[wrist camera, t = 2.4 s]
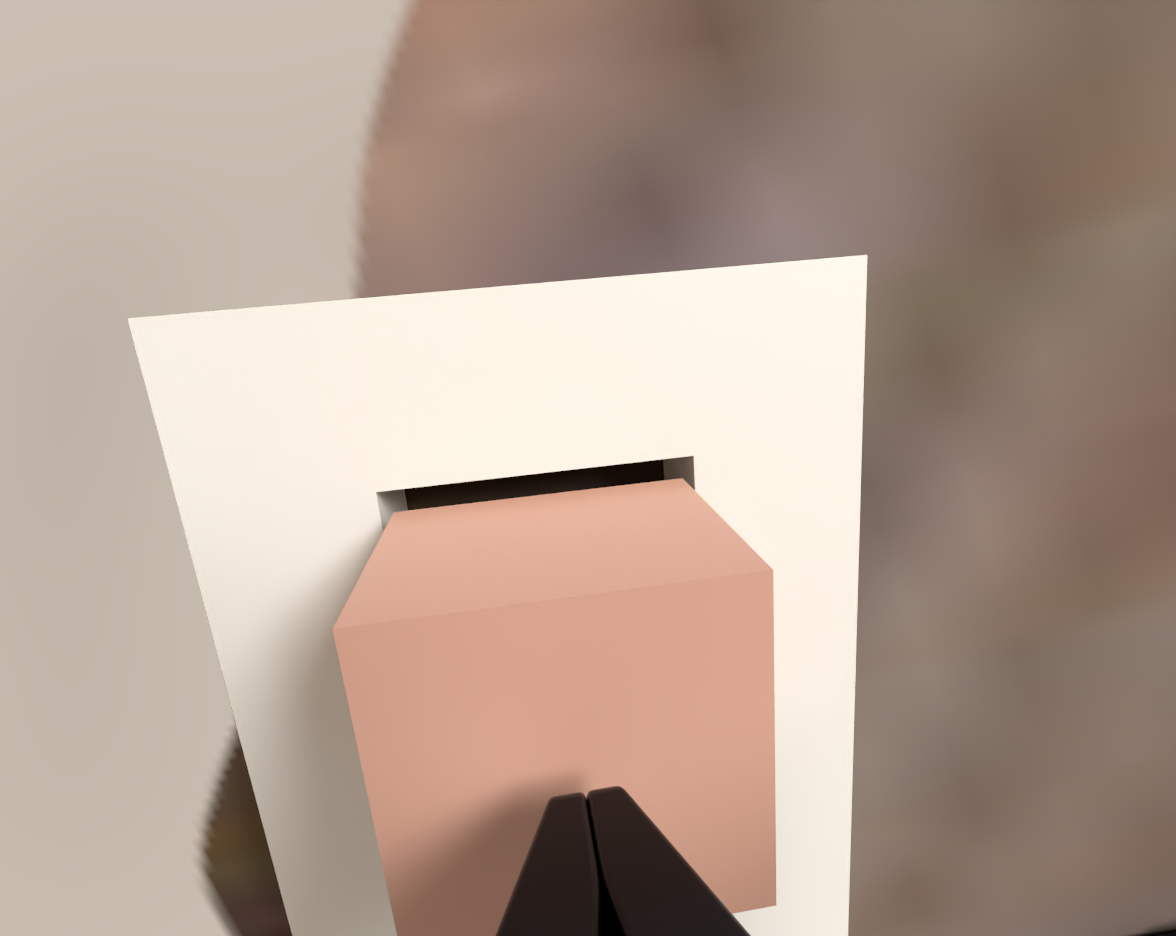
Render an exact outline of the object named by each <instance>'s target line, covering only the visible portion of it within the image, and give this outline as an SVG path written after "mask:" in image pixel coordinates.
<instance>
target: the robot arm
mask: <svg viewBox="0 0 1176 936" xmlns="http://www.w3.org/2000/svg"><path fill="white" fill-rule="evenodd" d="M495 936H751V935H750V934H749V933H748V932H747V931H746V929H745V928H744V927H743V926H742V925H741V924H740V923H739V921H738V920H737V919H736V918H735V917H734V916H733V914H732V913H731V912H730V911H729V910H728V909H727V907H726V906H725V905H724V904H723V903H722V902H721V900H720V899H719V898H718V897H717V896H716V895H715V894H714V892H713V891H712V890H711V889H710V888H709V887H708V885H707V884H706V883H705V882H704V881H703V880H702V878H701V877H700V876H699V875H698V874H697V873H696V871H695V870H694V869H693V868H692V867H691V866H690V864H689V863H688V862H687V861H686V860H685V859H684V858H683V856H682V855H681V854H680V853H679V852H678V851H677V849H676V848H675V847H674V846H673V845H672V844H671V842H670V841H669V840H668V839H667V838H666V837H665V835H664V834H663V833H662V832H661V831H660V830H659V828H658V827H657V826H656V825H655V824H654V823H653V822H652V820H651V819H650V818H649V817H648V816H647V815H646V813H645V812H644V811H643V810H642V809H641V808H640V806H639V805H638V804H637V803H636V802H635V801H634V799H633V798H632V797H631V796H630V795H629V794H628V792H627V791H626V790H625V789H624V788H622V787H620V786H613V787H607V788H600V789H594V790H591V791H589V792H588V794H587V799H586V796H585V795H584V793H582V792H576V793H570V794H564V795H558V796H553V797H551V798H550V799H549V801H548V802H547V805H546V807H545V810H544V812H543V815H542V817H541V820H540V822H539V825H538V828H537V830H536V833H535V835H534V838H533V840H532V843H531V846H530V848H529V851H528V853H527V856H526V858H525V861H524V864H523V866H522V869H521V871H520V874H519V876H518V879H517V881H516V884H515V887H514V889H513V892H512V894H511V897H510V899H509V902H508V905H507V907H506V910H505V912H504V915H503V917H502V920H501V922H500V925H499V928H498V930H497V933H496V935H495ZM1158 936H1176V932H1173V933H1168V934H1163V935H1158Z"/></svg>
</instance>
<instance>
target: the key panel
mask: <svg viewBox="0 0 1176 936" xmlns="http://www.w3.org/2000/svg"><path fill="white" fill-rule="evenodd" d="M866 282H867V255H861V256H849V257H838V258H826V259H814V260H803V261H791V262H779V263H768V264H756V265H744V266H733V267H721V268H709V269H698V270H686V271H674V272H663V273H651V274H640V275H628V276H616V277H605V278H593V279H581V280H570V281H558V282H546V283H535V284H523V285H511V286H500V287H488V288H477V289H465V290H453V291H442V292H430V293H418V294H407V295H395V296H383V297H372V298H360V299H348V300H337V301H326V302H314V303H303V304H291V305H279V306H267V307H256V308H244V309H233V310H220V311H209V312H197V313H186V314H174V315H162V316H150V317H139V318H128V322H129V326H130V330H131V333H132V337H133V341H134V344H135V348H136V352H137V356H138V359H139V363H140V367H141V371H142V374H143V378H144V382H145V386H146V389H147V393H148V397H149V401H150V404H151V408H152V412H153V416H154V419H155V423H156V427H157V430H158V434H159V438H160V442H161V445H162V449H163V453H164V457H165V461H166V464H167V468H168V472H169V476H170V479H171V483H172V487H173V491H174V494H175V498H176V502H177V506H178V509H179V513H180V517H181V521H182V524H183V528H184V532H185V536H186V539H187V543H188V547H189V551H190V554H191V558H192V562H193V566H194V569H195V573H196V577H197V581H198V584H199V588H200V591H201V595H202V599H203V603H204V607H205V610H206V614H207V618H208V622H209V626H210V629H211V633H212V637H213V641H214V644H215V648H216V652H217V655H218V659H219V663H220V667H221V670H222V674H223V678H224V682H225V685H226V689H227V693H228V697H229V700H230V704H231V708H232V712H233V715H234V719H235V723H236V727H237V730H238V734H239V738H240V742H241V745H242V749H243V753H244V757H245V760H246V764H247V768H248V772H249V775H250V779H251V783H252V787H253V790H254V794H255V798H256V802H257V805H258V809H259V813H260V817H261V820H262V824H263V828H264V832H265V835H266V839H267V843H268V847H269V850H270V854H271V858H272V862H273V865H274V869H275V873H276V877H277V880H278V884H279V888H280V892H281V895H282V899H283V903H284V907H285V910H286V914H287V918H288V922H289V925H290V929H291V933H292V936H397V933H396V928H395V923H394V918H393V914H392V909H391V904H390V899H389V895H388V890H387V885H386V881H385V876H384V871H383V866H382V862H381V857H380V852H379V847H378V843H377V838H376V833H375V828H374V824H373V819H372V814H371V809H370V805H369V800H368V795H367V791H366V786H365V781H364V776H363V772H362V767H361V762H360V757H359V753H358V748H357V743H356V738H355V734H354V729H353V724H352V720H351V715H350V710H349V705H348V701H347V696H346V691H345V686H344V682H343V677H342V672H341V667H340V663H339V658H338V653H337V648H336V644H335V639H334V634H333V630H332V629H333V627H334V625H335V623H336V621H337V619H338V617H339V615H340V613H341V612H342V610H343V608H344V606H345V604H346V602H347V600H348V598H349V596H350V594H351V593H352V591H353V589H354V587H355V585H356V583H357V581H358V579H359V577H360V575H361V573H362V572H363V570H364V568H365V566H366V564H367V562H368V560H369V558H370V556H371V554H372V553H373V551H374V549H375V547H376V545H377V543H378V541H379V539H380V537H381V535H382V534H383V532H384V530H385V528H386V526H387V524H388V522H389V520H390V518H391V516H392V515H393V513H394V512H400V511H408V508H407V502H406V496H405V490H404V489H409V488H417V487H426V486H435V485H444V484H452V483H461V482H470V481H479V480H487V479H496V478H505V477H513V476H522V475H531V474H540V473H548V472H557V471H566V470H574V469H583V468H592V467H601V466H609V465H618V464H627V463H635V462H644V461H653V460H662V459H663V468H664V480H671V479H680V478H683V479H684V480H685V481H686V482H687V483H688V484H689V485H690V486H691V487H692V488H693V489H694V490H695V491H696V492H697V493H698V494H699V495H700V496H701V497H702V498H703V499H704V500H705V501H706V502H707V503H708V504H709V505H710V506H711V507H712V508H713V509H714V510H715V511H716V512H717V513H718V514H719V515H720V516H721V517H722V518H723V520H724V521H725V522H726V523H727V524H728V525H729V526H730V527H731V528H732V529H733V530H734V531H735V532H736V533H737V534H738V535H739V536H740V537H741V538H742V539H743V540H744V541H745V542H746V543H747V544H748V545H749V546H750V547H751V548H752V549H753V550H754V551H755V552H756V553H757V554H758V555H759V556H760V557H761V558H762V559H763V560H764V561H765V562H766V563H767V564H768V565H769V566H770V567H771V568H772V569H773V592H774V698H775V804H776V906H771V907H766V908H760V909H755V910H750V911H744V912H739V913H733V916H734V917H735V918H736V919H737V920H738V921H739V923H740V924H741V925H742V926H743V927H744V928H745V929H746V931H747V932H748V933H749V934H750V935H751V936H848V916H849V881H850V845H851V810H852V775H853V740H854V705H855V669H856V634H857V599H858V564H859V529H860V493H861V458H862V423H863V388H864V352H865V317H866Z"/></svg>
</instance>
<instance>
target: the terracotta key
mask: <svg viewBox="0 0 1176 936" xmlns="http://www.w3.org/2000/svg"><path fill="white" fill-rule="evenodd" d="M332 630H333V634H334V639H335V644H336V648H337V653H338V658H339V663H340V667H341V672H342V677H343V682H344V686H345V691H346V696H347V701H348V705H349V710H350V715H351V720H352V724H353V729H354V734H355V738H356V743H357V748H358V753H359V757H360V762H361V767H362V772H363V776H364V781H365V786H366V791H367V795H368V800H369V805H370V809H371V814H372V819H373V824H374V828H375V833H376V838H377V843H378V847H379V852H380V857H381V862H382V866H383V871H384V876H385V881H386V885H387V890H388V895H389V899H390V904H391V909H392V914H393V918H394V923H395V928H396V933H397V936H495V935H496V933H497V930H498V928H499V925H500V922H501V920H502V917H503V915H504V912H505V910H506V907H507V905H508V902H509V899H510V897H511V894H512V892H513V889H514V887H515V884H516V881H517V879H518V876H519V874H520V871H521V869H522V866H523V864H524V861H525V858H526V856H527V853H528V851H529V848H530V846H531V843H532V840H533V838H534V835H535V833H536V830H537V828H538V825H539V822H540V820H541V817H542V815H543V812H544V810H545V807H546V805H547V802H548V801H549V799H550V798H551V797H553V796H558V795H564V794H570V793H576V792H582V793H584V795H585V796H586V799H587V794H588V792H589V791H591V790H594V789H600V788H607V787H613V786H620V787H622V788H624V789H625V790H626V791H627V792H628V794H629V795H630V796H631V797H632V798H633V799H634V801H635V802H636V803H637V804H638V805H639V806H640V808H641V809H642V810H643V811H644V812H645V813H646V815H647V816H648V817H649V818H650V819H651V820H652V822H653V823H654V824H655V825H656V826H657V827H658V828H659V830H660V831H661V832H662V833H663V834H664V835H665V837H666V838H667V839H668V840H669V841H670V842H671V844H672V845H673V846H674V847H675V848H676V849H677V851H678V852H679V853H680V854H681V855H682V856H683V858H684V859H685V860H686V861H687V862H688V863H689V864H690V866H691V867H692V868H693V869H694V870H695V871H696V873H697V874H698V875H699V876H700V877H701V878H702V880H703V881H704V882H705V883H706V884H707V885H708V887H709V888H710V889H711V890H712V891H713V892H714V894H715V895H716V896H717V897H718V898H719V899H720V900H721V902H722V903H723V904H724V905H725V906H726V907H727V909H728V910H729V911H730V912H731V913H732V914H733V913H739V912H744V911H750V910H755V909H760V908H766V907H771V906H776V804H775V698H774V592H773V569H772V568H771V567H770V566H769V565H768V564H767V563H766V562H765V561H764V560H763V559H762V558H761V557H760V556H759V555H758V554H757V553H756V552H755V551H754V550H753V549H752V548H751V547H750V546H749V545H748V544H747V543H746V542H745V541H744V540H743V539H742V538H741V537H740V536H739V535H738V534H737V533H736V532H735V531H734V530H733V529H732V528H731V527H730V526H729V525H728V524H727V523H726V522H725V521H724V520H723V518H722V517H721V516H720V515H719V514H718V513H717V512H716V511H715V510H714V509H713V508H712V507H711V506H710V505H709V504H708V503H707V502H706V501H705V500H704V499H703V498H702V497H701V496H700V495H699V494H698V493H697V492H696V491H695V490H694V489H693V488H692V487H691V486H690V485H689V484H688V483H687V482H686V481H685V480H684V479H683V478H680V479H671V480H663V481H654V482H646V483H637V484H629V485H620V486H612V487H603V488H595V489H586V490H578V491H569V492H561V493H552V494H544V495H535V496H527V497H518V498H510V499H502V500H493V501H485V502H476V503H468V504H459V505H451V506H442V507H434V508H425V509H417V510H408V511H400V512H394V513H393V515H392V516H391V518H390V520H389V522H388V524H387V526H386V528H385V530H384V532H383V534H382V535H381V537H380V539H379V541H378V543H377V545H376V547H375V549H374V551H373V553H372V554H371V556H370V558H369V560H368V562H367V564H366V566H365V568H364V570H363V572H362V573H361V575H360V577H359V579H358V581H357V583H356V585H355V587H354V589H353V591H352V593H351V594H350V596H349V598H348V600H347V602H346V604H345V606H344V608H343V610H342V612H341V613H340V615H339V617H338V619H337V621H336V623H335V625H334V627H333V629H332Z"/></svg>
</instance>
